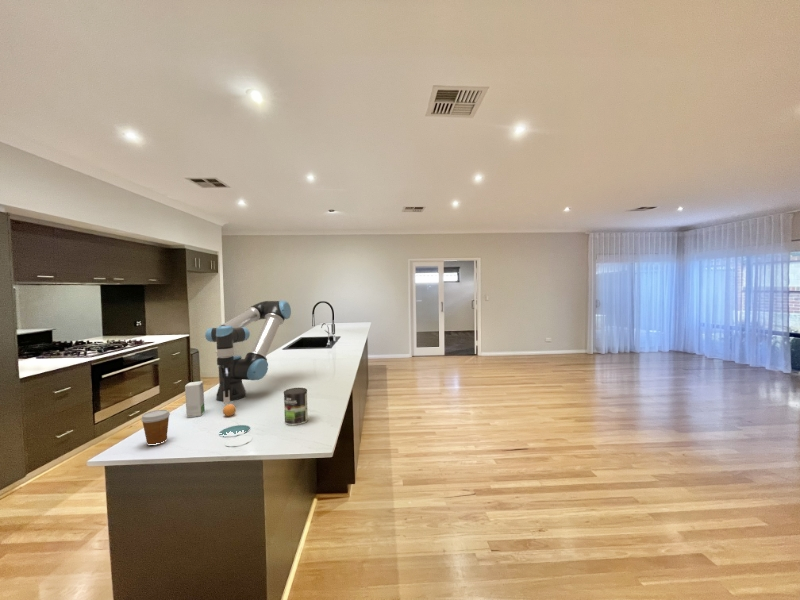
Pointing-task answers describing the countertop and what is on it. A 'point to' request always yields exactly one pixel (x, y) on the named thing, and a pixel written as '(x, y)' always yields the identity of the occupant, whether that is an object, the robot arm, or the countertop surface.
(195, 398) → the skincare box
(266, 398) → the countertop surface
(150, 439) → the disposable coffee cup
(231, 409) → the ball
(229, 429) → the disc
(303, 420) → the coffee can
